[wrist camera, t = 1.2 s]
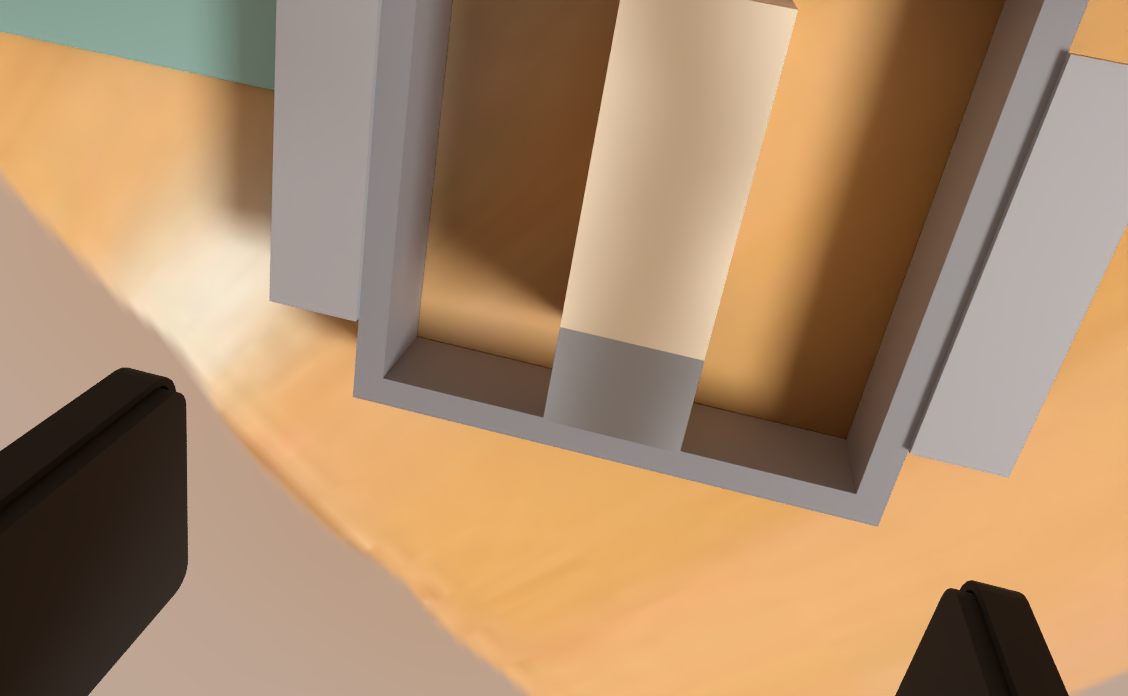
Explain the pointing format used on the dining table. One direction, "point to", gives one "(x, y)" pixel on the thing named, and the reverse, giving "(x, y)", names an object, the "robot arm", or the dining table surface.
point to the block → (663, 210)
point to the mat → (160, 32)
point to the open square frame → (713, 436)
